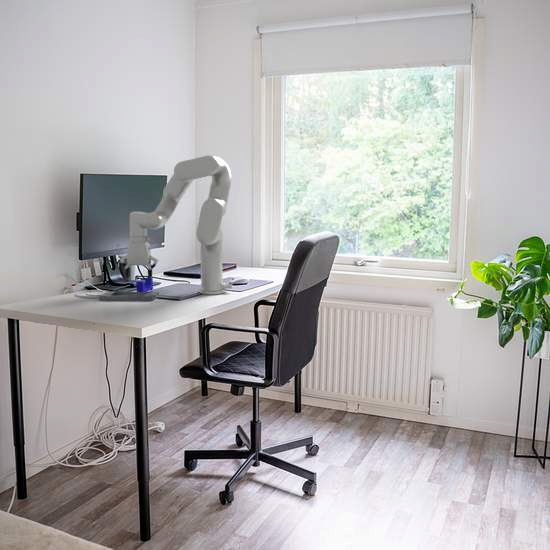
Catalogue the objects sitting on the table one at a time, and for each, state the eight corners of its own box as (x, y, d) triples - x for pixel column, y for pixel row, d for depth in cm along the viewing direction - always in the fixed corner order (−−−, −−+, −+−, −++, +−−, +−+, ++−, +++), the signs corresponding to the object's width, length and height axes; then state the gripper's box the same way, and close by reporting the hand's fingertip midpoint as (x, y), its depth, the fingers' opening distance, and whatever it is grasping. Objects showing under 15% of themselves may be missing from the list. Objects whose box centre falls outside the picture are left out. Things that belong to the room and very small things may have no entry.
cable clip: (143, 290, 295) (143, 277, 294) (153, 290, 294) (152, 277, 293) (133, 295, 283) (132, 281, 282) (143, 295, 282) (142, 282, 281)
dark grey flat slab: (159, 296, 279) (158, 291, 278) (152, 301, 269) (152, 295, 268) (107, 295, 281) (107, 290, 280) (99, 300, 271) (99, 295, 271)
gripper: (160, 239, 288) (160, 277, 290) (122, 238, 289) (122, 275, 292) (155, 241, 280) (155, 280, 283) (116, 240, 282) (117, 278, 284)
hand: (139, 277), depth 287 cm, fingers open, 9 cm apart
